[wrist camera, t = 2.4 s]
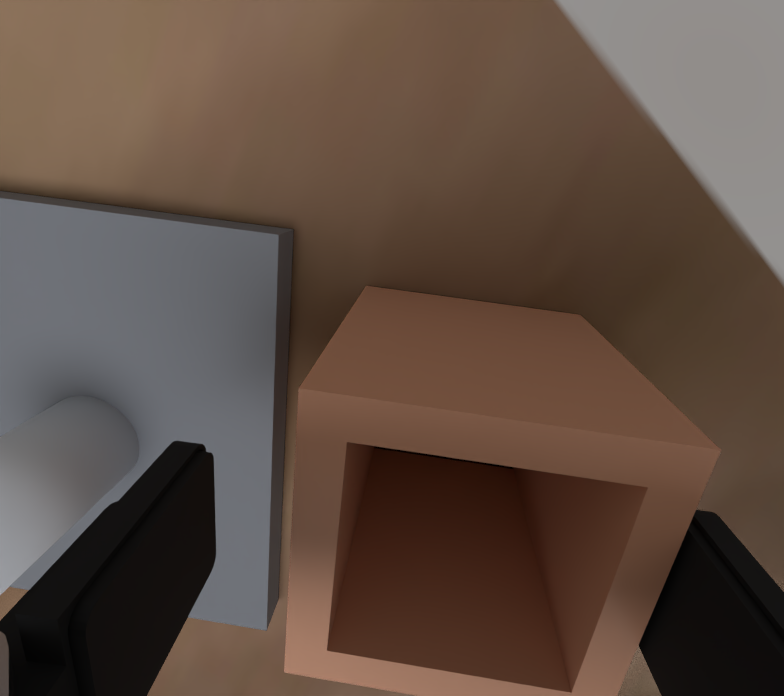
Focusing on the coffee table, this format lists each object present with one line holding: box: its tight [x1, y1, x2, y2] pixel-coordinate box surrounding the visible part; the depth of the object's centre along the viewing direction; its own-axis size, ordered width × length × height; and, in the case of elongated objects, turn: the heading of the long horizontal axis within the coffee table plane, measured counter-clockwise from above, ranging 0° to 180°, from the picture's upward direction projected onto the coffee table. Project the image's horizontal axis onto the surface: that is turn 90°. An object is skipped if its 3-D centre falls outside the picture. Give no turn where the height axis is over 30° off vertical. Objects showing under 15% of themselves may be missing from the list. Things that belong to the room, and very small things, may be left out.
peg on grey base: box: [0, 191, 294, 631], centre depth 14 cm, size 13×16×9 cm
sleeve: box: [284, 286, 721, 696], centre depth 13 cm, size 7×7×8 cm
